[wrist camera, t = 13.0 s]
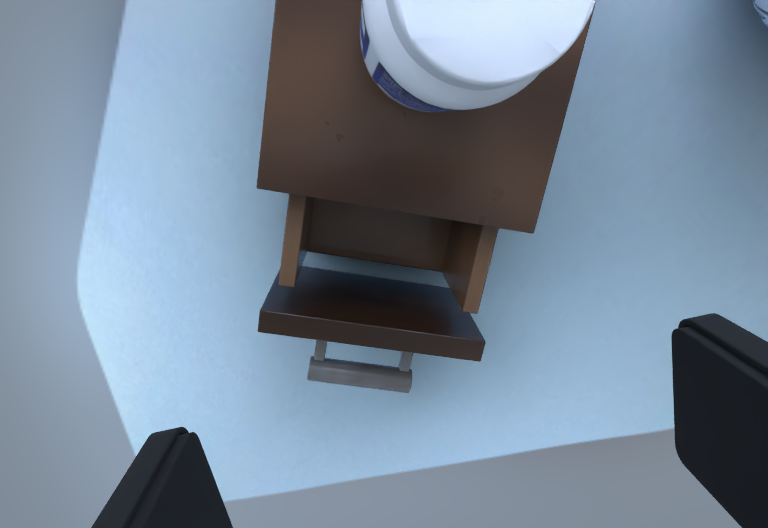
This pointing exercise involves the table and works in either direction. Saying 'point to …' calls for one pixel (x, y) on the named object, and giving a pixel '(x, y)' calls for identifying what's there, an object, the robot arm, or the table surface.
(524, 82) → the pill bottle
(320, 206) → the drawer
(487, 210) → the cabinet
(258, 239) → the table surface
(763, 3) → the planter
